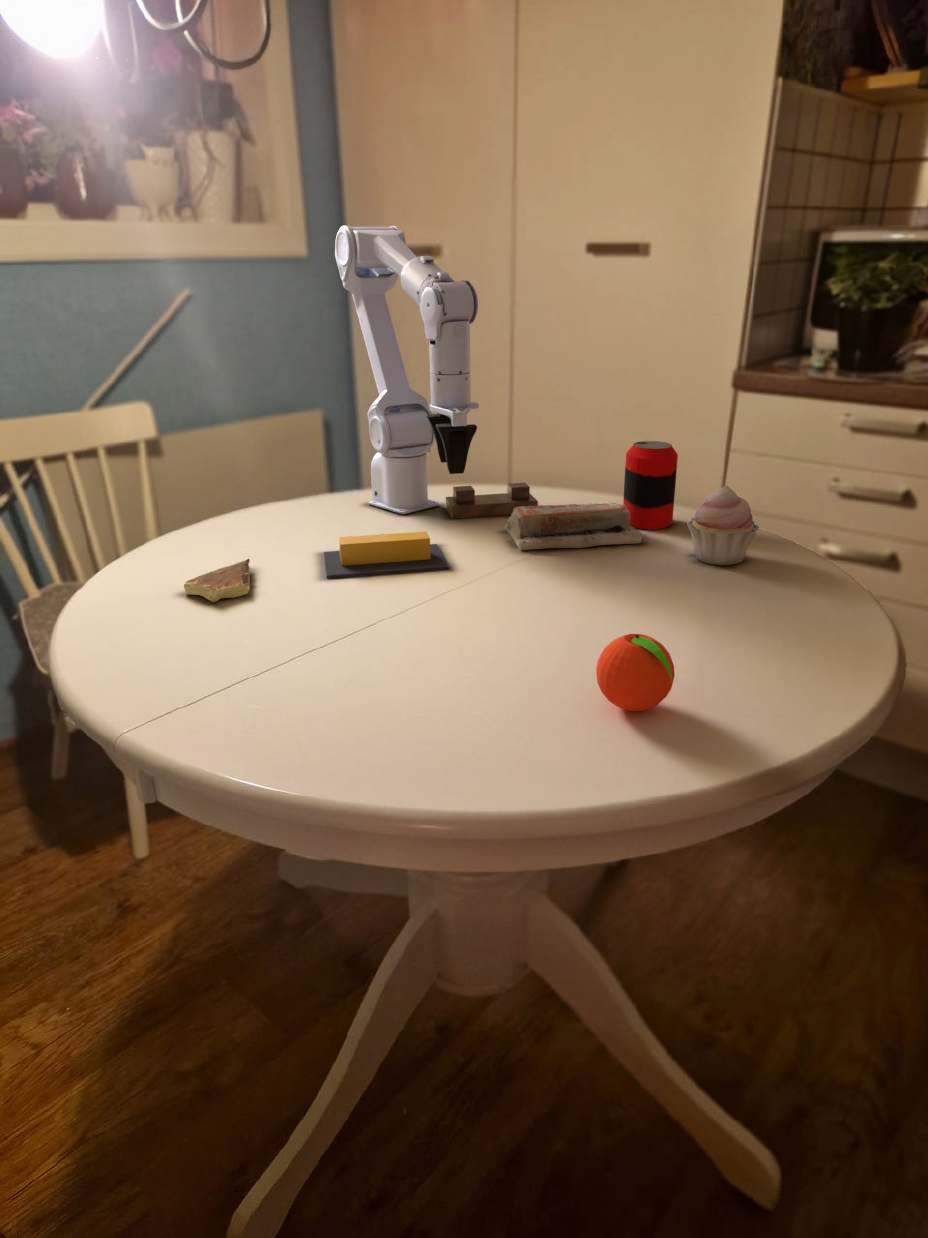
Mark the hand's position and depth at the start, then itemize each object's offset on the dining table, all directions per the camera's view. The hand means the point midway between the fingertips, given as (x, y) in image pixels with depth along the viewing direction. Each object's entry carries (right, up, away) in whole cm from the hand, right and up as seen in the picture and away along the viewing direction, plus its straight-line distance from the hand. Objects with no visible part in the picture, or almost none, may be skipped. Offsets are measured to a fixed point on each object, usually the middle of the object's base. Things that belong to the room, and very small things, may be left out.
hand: (451, 467), depth 128 cm
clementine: (+17, -31, -49) cm, 61 cm away
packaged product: (+18, -11, -2) cm, 21 cm away
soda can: (+30, -8, +5) cm, 31 cm away
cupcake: (+36, -14, -11) cm, 41 cm away
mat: (-9, -15, -10) cm, 20 cm away
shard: (-29, -19, -18) cm, 39 cm away
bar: (-9, -14, -10) cm, 20 cm away
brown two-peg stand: (+6, -5, +12) cm, 15 cm away
